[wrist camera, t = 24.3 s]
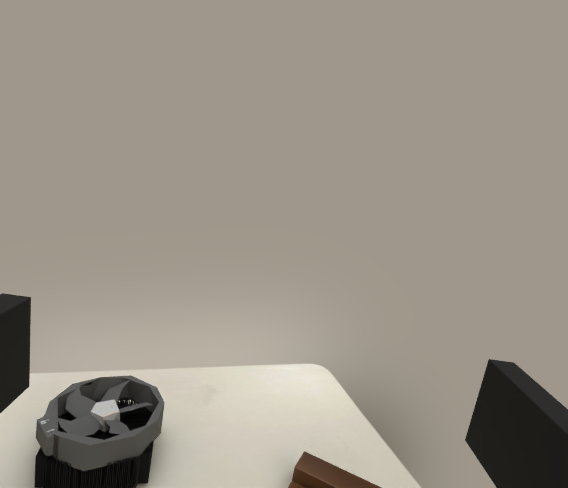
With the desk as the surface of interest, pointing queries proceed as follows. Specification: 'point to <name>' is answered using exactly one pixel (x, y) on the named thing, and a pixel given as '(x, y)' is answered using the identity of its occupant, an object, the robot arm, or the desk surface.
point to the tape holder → (324, 475)
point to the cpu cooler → (99, 434)
